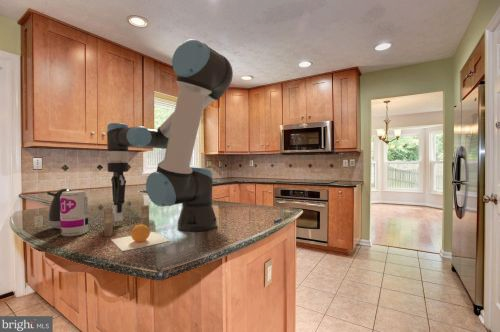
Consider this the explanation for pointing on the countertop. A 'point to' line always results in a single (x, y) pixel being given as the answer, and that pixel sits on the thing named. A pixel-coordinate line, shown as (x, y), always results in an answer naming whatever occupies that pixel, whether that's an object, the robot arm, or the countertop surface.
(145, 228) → the ball
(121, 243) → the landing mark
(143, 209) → the post right
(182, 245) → the countertop surface
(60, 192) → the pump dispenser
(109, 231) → the post left
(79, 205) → the supplement can
